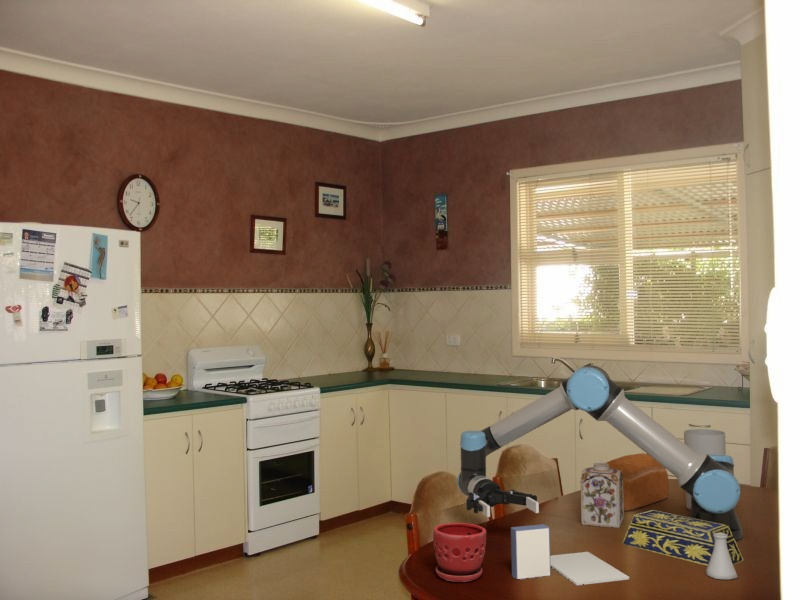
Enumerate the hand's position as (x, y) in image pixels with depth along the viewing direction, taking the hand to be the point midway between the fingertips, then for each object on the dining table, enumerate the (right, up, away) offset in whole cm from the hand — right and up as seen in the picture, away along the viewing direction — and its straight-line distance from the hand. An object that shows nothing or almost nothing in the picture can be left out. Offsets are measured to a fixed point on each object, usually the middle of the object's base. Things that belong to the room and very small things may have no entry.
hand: (513, 509), depth 202 cm
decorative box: (+46, -14, +7) cm, 48 cm away
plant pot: (-14, -14, -9) cm, 22 cm away
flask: (+49, -13, -13) cm, 52 cm away
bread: (+50, -14, +62) cm, 81 cm away
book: (+3, -14, -10) cm, 17 cm away
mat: (+17, -13, -5) cm, 22 cm away
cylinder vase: (+70, -14, +50) cm, 87 cm away
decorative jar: (+33, -14, +38) cm, 52 cm away
